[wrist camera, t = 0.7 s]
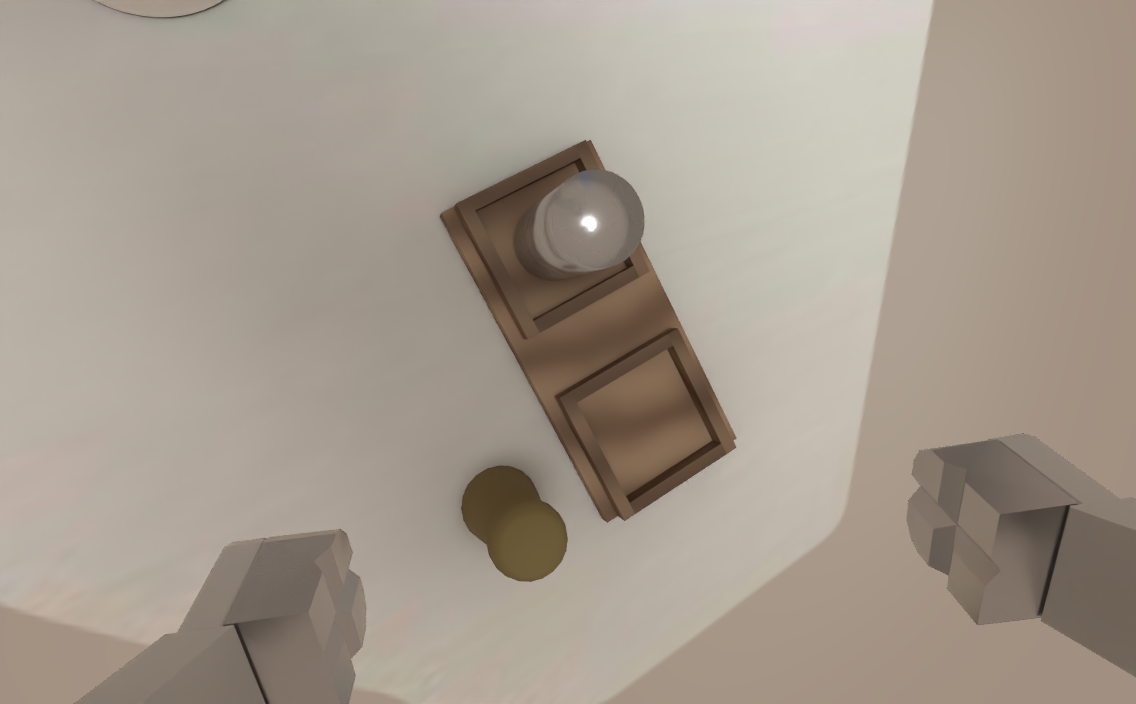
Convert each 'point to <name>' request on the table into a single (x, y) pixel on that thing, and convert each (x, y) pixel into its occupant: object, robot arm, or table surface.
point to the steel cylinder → (580, 227)
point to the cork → (514, 523)
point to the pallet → (595, 349)
